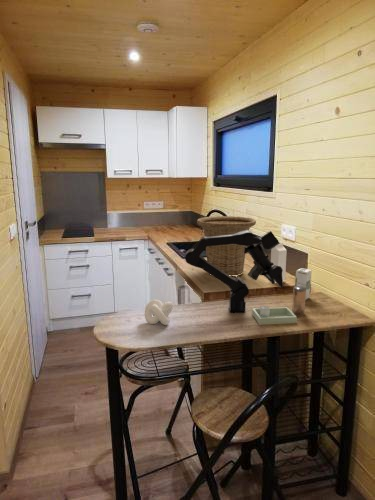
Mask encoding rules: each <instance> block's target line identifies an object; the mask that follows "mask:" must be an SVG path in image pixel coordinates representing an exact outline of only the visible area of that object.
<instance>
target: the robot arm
mask: <svg viewBox="0 0 375 500" xmlns="http://www.w3.org/2000/svg"><path fill="white" fill-rule="evenodd" d="M227 244H237V245H245V246H246V247H245V246H244V251H243V252H244V254H245V255H246V254H247V253H249V256H250V257H251V258H252V260H253V266H252V267H251V269H250V270H249V272H248V273H247V276H248V277H249V278H251V279H252V280H254V281H257V280H258V278H259V277H260V276H264V277H265V278H266V279H267V280H268V281H269V282H270V284H272V285H273V284H276V283H277V284H276V285H278V286H279V288H284V283H283V280H282V271H283V270H282V268H281V267H280V266H277V265H274V264H273V263H272V262H271V259H269V255H268V254H266V252H265V250H266V251H271V249H272V248H274V247H275V246H277V245H278V244H281V243H280V242H279V240H278V238H277V237H276V236H275V235H274V233H273V231H272V230H269V231H267V232H266V233H265V234H263V235H262V236H259V235H255V234H253V232H252V231H250V230H249V231H248V230H245V231H241V232H238V233H235V234H232V235H222V236H211V237H205V236H202V237H200V239H199V240H198V241H197V242H196V244H194V245H193V247H192V248H189V249H188V250H187V251H186V252H185V255H184V258H185V259H184V260H185V262H186V264H188V265H190V266H193V267H195V268H198V269H202V270H203V271H205V272H206V273H209V275H210V274H211V275H210V276H213V278H215V279H217V280H218V281H220V282H222V283H223V284H224V285H226V286H228V288H229V289H230V290H229V293H230V294H229V295H230V296H229V297H228V308H227V309H228V311H229V313H230V314H244V313H246V301H245V298H246V297H247V296H248V295H249V293H250V290H249V287H248V285H247V282H246V280H245V279H242V278H241V276H239V275H238V276H237V277H234V276H233V277H231V276H229V275H228V274H226V273H225V272H223V271H222V270H220V269H219V268H217V267H216V266H214V265H213V264H211V263H210V262H208V261H207V259H206V258H205V257H204V256H203V255H202V253H203V252H204V251H205V250H206V247H207V246H216V245H227ZM272 265H274V266H273V267H272ZM275 282H276V283H275Z"/></svg>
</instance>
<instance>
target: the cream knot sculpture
mask: <svg viewBox="0 0 375 500" xmlns="http://www.w3.org/2000/svg"><path fill="white" fill-rule="evenodd" d="M173 307H174V305H173V302H171V301H166V302H162V301H160V300H159V299H151V300H150V301H148V303H147V304H146V306H145V309H144V319H145V322H147V323H148V324H150V325H156V324H157V323H159V322H160V323H161V324H162V325H164V326H167V325H169V324H170V317H169V315H170V314H171V312H172V310H173Z"/></svg>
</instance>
